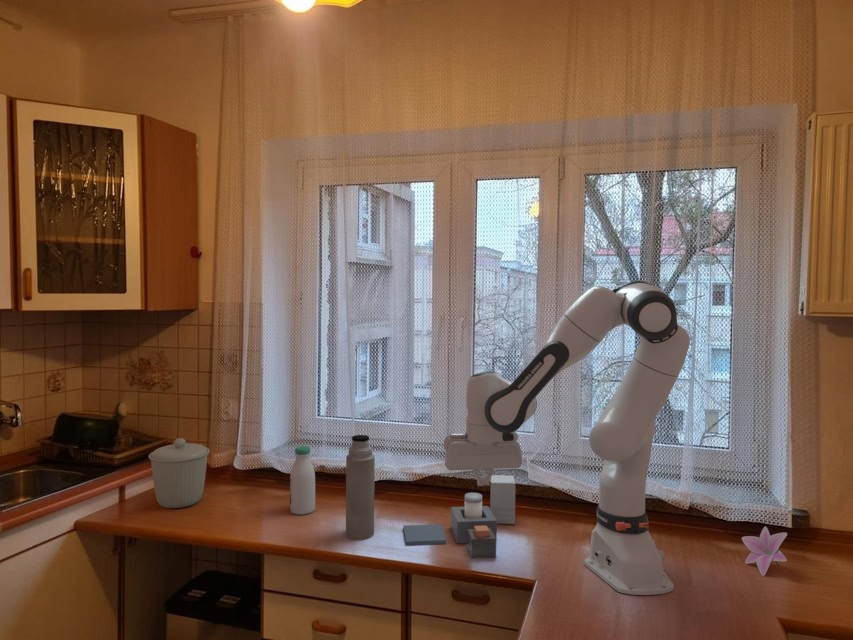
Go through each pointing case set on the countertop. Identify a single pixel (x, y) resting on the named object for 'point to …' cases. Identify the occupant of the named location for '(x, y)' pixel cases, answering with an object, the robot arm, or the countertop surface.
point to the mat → (424, 534)
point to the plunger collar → (481, 545)
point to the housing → (470, 522)
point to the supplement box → (503, 499)
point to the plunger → (481, 531)
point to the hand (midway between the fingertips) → (483, 485)
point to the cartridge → (473, 505)
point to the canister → (179, 473)
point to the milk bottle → (302, 483)
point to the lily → (764, 549)
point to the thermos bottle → (360, 489)
